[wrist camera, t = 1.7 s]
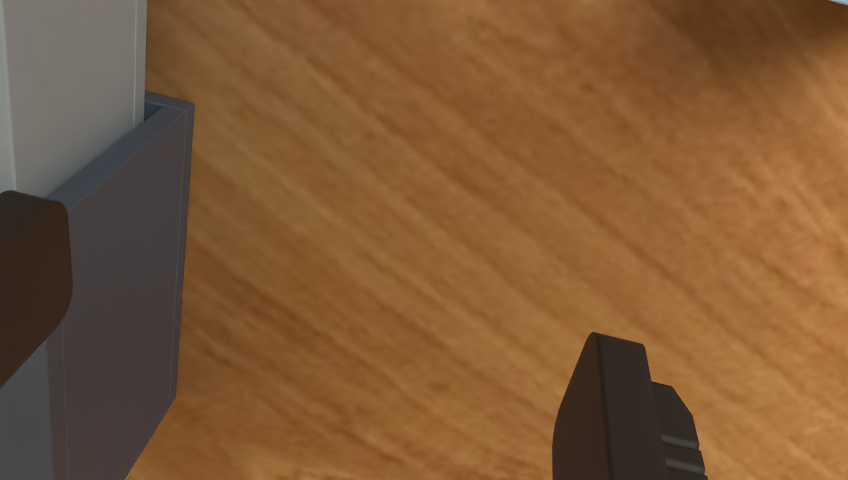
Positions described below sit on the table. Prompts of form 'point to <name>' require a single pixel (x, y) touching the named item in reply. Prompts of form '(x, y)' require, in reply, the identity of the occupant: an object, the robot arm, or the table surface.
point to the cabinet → (109, 312)
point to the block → (841, 1)
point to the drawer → (67, 86)
